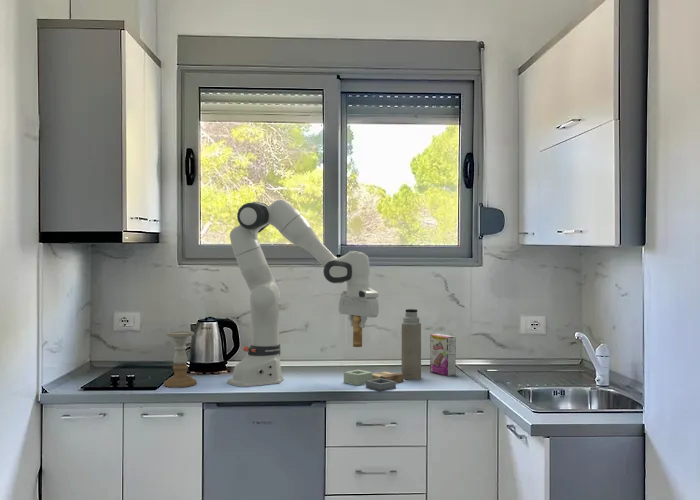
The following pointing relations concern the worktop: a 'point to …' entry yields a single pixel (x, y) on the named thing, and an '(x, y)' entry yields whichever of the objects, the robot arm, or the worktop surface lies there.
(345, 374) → the socket block
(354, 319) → the dowel
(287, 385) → the worktop surface
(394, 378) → the bar
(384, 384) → the tray
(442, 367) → the candy bar box
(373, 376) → the tan wooden block
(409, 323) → the thermos bottle
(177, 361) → the candle holder
